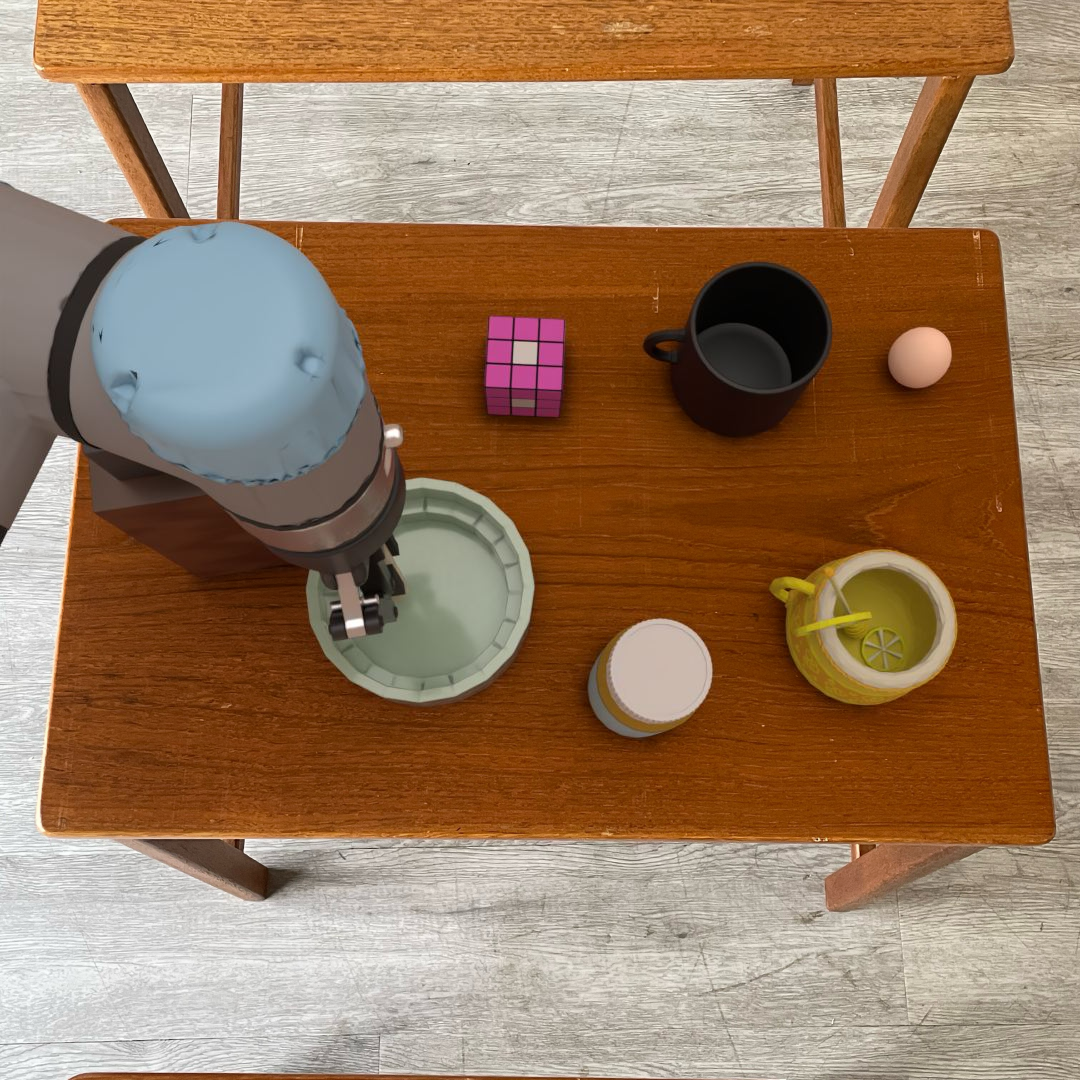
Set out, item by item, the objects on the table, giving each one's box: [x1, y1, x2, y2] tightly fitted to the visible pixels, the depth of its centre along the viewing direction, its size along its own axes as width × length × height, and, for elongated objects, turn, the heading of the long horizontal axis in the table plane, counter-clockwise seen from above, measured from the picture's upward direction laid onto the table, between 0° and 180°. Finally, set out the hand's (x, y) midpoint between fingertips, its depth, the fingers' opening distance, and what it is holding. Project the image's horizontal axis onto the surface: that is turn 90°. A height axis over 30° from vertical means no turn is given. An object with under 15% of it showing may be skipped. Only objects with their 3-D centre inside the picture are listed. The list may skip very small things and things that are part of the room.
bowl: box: [305, 477, 536, 708], centre depth 74 cm, size 16×16×6 cm
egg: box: [887, 326, 953, 389], centre depth 79 cm, size 4×4×6 cm
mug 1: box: [642, 261, 834, 437], centre depth 77 cm, size 10×13×10 cm
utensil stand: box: [81, 444, 292, 579], centre depth 66 cm, size 9×9×25 cm
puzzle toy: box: [483, 315, 566, 418], centre depth 79 cm, size 6×6×6 cm
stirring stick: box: [384, 543, 409, 603], centre depth 67 cm, size 2×2×16 cm
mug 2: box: [768, 548, 959, 706], centre depth 72 cm, size 13×11×12 cm
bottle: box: [587, 617, 714, 739], centre depth 69 cm, size 7×7×15 cm
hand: (381, 572), depth 68 cm, fingers closed on stirring stick, 2 cm apart
